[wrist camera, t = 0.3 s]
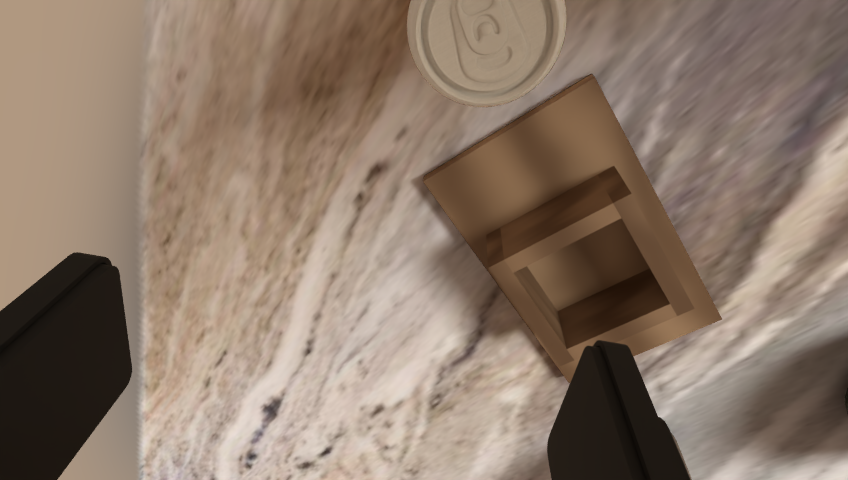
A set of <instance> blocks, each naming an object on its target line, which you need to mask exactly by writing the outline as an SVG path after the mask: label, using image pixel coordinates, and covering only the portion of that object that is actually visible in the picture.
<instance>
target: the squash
mask: <svg viewBox="0 0 848 480" xmlns="http://www.w3.org/2000/svg"><path fill="white" fill-rule="evenodd" d="M845 405H846V409H847V413H848V389H847V392H846V395H845Z"/></svg>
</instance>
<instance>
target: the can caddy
mask: <svg viewBox="0 0 848 480" xmlns="http://www.w3.org/2000/svg"><path fill="white" fill-rule="evenodd" d="M423 182H424V184H425V185H426V186H427V188H428V189H429V191H430V192H431V193H432V195H433V196H434V197H435V199H436V200H437V202H438V203H439V204H440V206H441V207H442V208H443V210H444V211H445V213H446V214H447V215H448V217H449V218H450V220H451V221H452V222H453V224H454V225H455V226H456V228H457V229H458V231H459V232H460V233H461V235H462V236H463V237H464V239H465V240H466V242H467V243H468V244H469V246H470V247H471V249H472V250H473V251H474V253H475V254H476V255H477V257H478V258H479V260H480V261H481V262H482V264H483V265H484V266H485V268H486V269H487V271H488V272H489V273H490V275H491V276H492V278H493V279H494V280H495V282H496V283H497V284H498V286H499V287H500V289H501V290H502V291H503V293H504V294H505V295H506V297H507V298H508V300H509V301H510V302H511V304H512V305H513V306H514V308H515V309H516V311H517V312H518V313H519V315H520V316H521V318H522V319H523V320H524V322H525V323H526V324H527V326H528V327H529V329H530V330H531V331H532V333H533V334H534V335H535V337H536V338H537V340H538V341H539V342H540V344H541V345H542V347H543V348H544V349H545V351H546V352H547V353H548V355H549V356H550V358H551V359H552V360H553V362H554V363H555V364H556V366H557V367H558V369H559V370H560V371H561V373H562V374H563V376H564V377H565V378H566V380H567V381H568V382H569V383H570V382H571V380H572V378H573V375H574V373H575V370H576V368H577V365H578V363H579V360H580V358H581V355H582V353H583V350H584V348H585V347H586V346H593V345H594V343H595V342H596V341H598V340H602V341H608V342H614V343H620V344H626V345H627V346H628V347H629V348H630V350H631V353H632V355H633V356H635V355H638V354H640V353H642V352H645V351H647V350H650V349H652V348H654V347H657V346H659V345H662V344H664V343H666V342H669V341H671V340H674V339H676V338H678V337H681V336H683V335H686V334H688V333H690V332H693V331H695V330H698V329H700V328H703V327H705V326H707V325H710V324H712V323H715V322H717V321H719V320H722V318H721V316H720V314H719V312H718V310H717V309H716V307H715V305H714V303H713V301H712V299H711V297H710V295H709V293H708V291H707V290H706V288H705V286H704V284H703V282H702V280H701V278H700V276H699V274H698V272H697V271H696V269H695V267H694V265H693V263H692V261H691V259H690V257H689V255H688V253H687V252H686V250H685V248H684V246H683V244H682V242H681V240H680V238H679V236H678V234H677V233H676V231H675V229H674V227H673V225H672V223H671V221H670V219H669V217H668V215H667V214H666V212H665V210H664V208H663V206H662V204H661V202H660V200H659V198H658V196H657V194H656V193H655V191H654V189H653V187H652V185H651V183H650V181H649V179H648V177H647V175H646V174H645V172H644V170H643V168H642V166H641V164H640V162H639V160H638V158H637V156H636V155H635V153H634V151H633V149H632V147H631V145H630V143H629V141H628V139H627V137H626V136H625V134H624V132H623V130H622V128H621V126H620V124H619V122H618V120H617V118H616V117H615V115H614V113H613V111H612V109H611V107H610V105H609V103H608V101H607V99H606V98H605V96H604V94H603V92H602V90H601V88H600V86H599V84H598V82H597V80H596V79H595V77H594V76H593V75H592V74H591V75H589V76H587V77H586V78H584V79H582V80H581V81H579V82H578V83H576V84H574V85H573V86H571V87H569V88H568V89H566V90H564V91H563V92H561V93H559V94H558V95H556V96H555V97H553V98H551V99H550V100H548V101H546V102H545V103H543V104H541V105H540V106H538V107H537V108H535V109H533V110H532V111H530V112H528V113H527V114H525V115H523V116H522V117H520V118H518V119H517V120H515V121H514V122H512V123H510V124H509V125H507V126H505V127H504V128H502V129H500V130H499V131H497V132H496V133H494V134H492V135H491V136H489V137H487V138H486V139H484V140H482V141H481V142H479V143H477V144H476V145H474V146H473V147H471V148H469V149H468V150H466V151H464V152H463V153H461V154H459V155H458V156H456V157H455V158H453V159H451V160H450V161H448V162H446V163H445V164H443V165H441V166H440V167H438V168H437V169H435V170H433V171H432V172H430V173H428V174H427V175H425V176H424V179H423Z"/></svg>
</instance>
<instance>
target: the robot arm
mask: <svg viewBox="0 0 848 480" xmlns="http://www.w3.org/2000/svg"><path fill="white" fill-rule="evenodd" d="M131 373H132V364H131V357H130V350H129V341H128V334H127V326H126V319H125V312H124V304H123V297H122V289H121V282H120V274H119V270H118V268H117V267H115V266H112V264H111V261H110V260H109V259H108V258H106V257H101V256H96V255H90V254H84V253H73V254H71V255H69V256H68V257H67V258H66V259H64V260H63V261H62V262H60V263H59V264H58V265H57V266H56V267H54V268H53V269H52V270H51V271H49V272H48V273H47V274H46V275H44V276H43V277H42V278H41V279H39V280H38V281H37V282H36V283H35V284H33V285H32V286H31V287H30V288H29V289H27V290H26V291H25V292H24V293H22V294H21V295H20V296H19V297H17V298H16V299H15V300H14V301H12V302H11V303H10V304H9V305H7V306H6V307H5V308H4V309H3V310H1V311H0V480H57V479H58V478H59V477H60V475H61V474H62V473H63V471H64V470H65V469H66V467H67V466H68V465H69V463H70V462H71V461H72V459H73V458H74V456H75V455H76V453H77V452H78V451H79V450H80V448H81V447H82V446H83V444H84V443H85V442H86V440H87V439H88V438H89V436H90V435H91V434H92V432H93V431H94V430H95V428H96V427H97V425H98V424H99V423H100V422H101V420H102V419H103V418H104V416H105V415H106V414H107V412H108V411H109V409H110V408H111V407H112V405H113V404H114V403H115V401H116V400H117V399H118V397H119V396H120V395H121V393H122V392H123V391H124V389H125V388H126V386H127V385H128V383H129V381H130V377H131ZM547 453H548V460H549V466H550V472H551V478H552V480H691V479H690V477H689V475H688V472H687V470H686V468H685V465H684V463H683V460H682V458H681V456H680V453H679V451H678V449H677V446H676V444H675V442H674V439H673V437H672V435H671V432H670V430H669V428H668V426H667V424H666V423H665V421H664V420H662V419H661V418H660V417H658V416H657V413H656V411H655V408H654V406H653V404H652V401H651V399H650V396H649V394H648V391H647V389H646V387H645V384H644V382H643V379H642V377H641V374H640V372H639V370H638V367H637V365H636V362H635V360H634V358H633V355H632V353H631V350H630V348H629V347H628V346H627V345H626V344H620V343H614V342H608V341H602V340H598V341H596V342H595V343H594V345H593V346H586V347H585V348H584V350H583V353H582V355H581V358H580V360H579V363H578V365H577V368H576V370H575V373H574V375H573V378H572V380H571V383H570V385H569V388H568V390H567V393H566V395H565V398H564V400H563V403H562V405H561V408H560V410H559V413H558V415H557V418H556V420H555V423H554V425H553V428H552V430H551V433H550V435H549V439H548V446H547Z"/></svg>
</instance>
